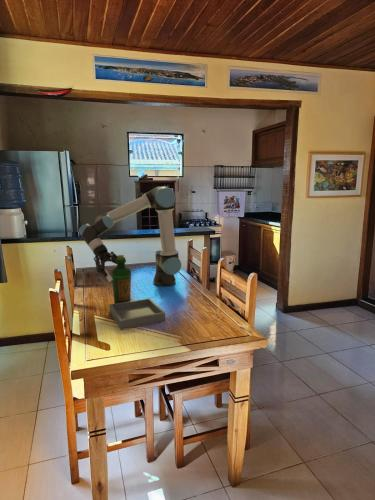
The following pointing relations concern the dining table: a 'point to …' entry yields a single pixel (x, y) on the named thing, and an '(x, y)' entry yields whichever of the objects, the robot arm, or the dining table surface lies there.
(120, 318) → the tray
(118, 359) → the dining table surface
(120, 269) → the bottle
